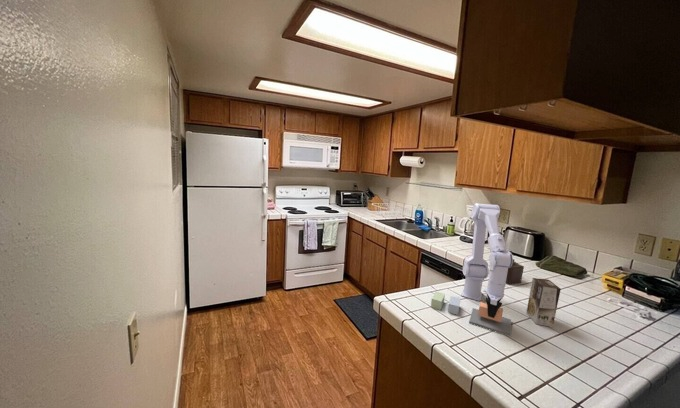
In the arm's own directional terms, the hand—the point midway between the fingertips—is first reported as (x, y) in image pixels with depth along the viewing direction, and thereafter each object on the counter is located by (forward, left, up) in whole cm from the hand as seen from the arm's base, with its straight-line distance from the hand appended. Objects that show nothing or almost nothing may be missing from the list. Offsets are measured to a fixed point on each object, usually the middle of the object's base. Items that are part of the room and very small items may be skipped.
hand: (491, 314), depth 111 cm
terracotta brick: (0, 0, -1) cm, 1 cm away
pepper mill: (-55, +3, -4) cm, 55 cm away
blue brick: (-1, -14, -4) cm, 14 cm away
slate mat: (0, 0, -3) cm, 3 cm away
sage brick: (-1, -20, -4) cm, 21 cm away
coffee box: (-15, +17, -4) cm, 23 cm away
